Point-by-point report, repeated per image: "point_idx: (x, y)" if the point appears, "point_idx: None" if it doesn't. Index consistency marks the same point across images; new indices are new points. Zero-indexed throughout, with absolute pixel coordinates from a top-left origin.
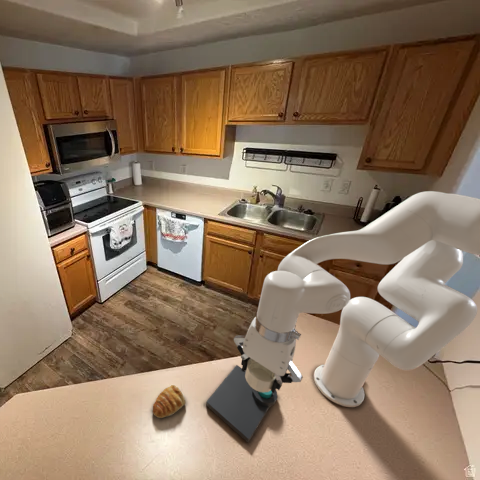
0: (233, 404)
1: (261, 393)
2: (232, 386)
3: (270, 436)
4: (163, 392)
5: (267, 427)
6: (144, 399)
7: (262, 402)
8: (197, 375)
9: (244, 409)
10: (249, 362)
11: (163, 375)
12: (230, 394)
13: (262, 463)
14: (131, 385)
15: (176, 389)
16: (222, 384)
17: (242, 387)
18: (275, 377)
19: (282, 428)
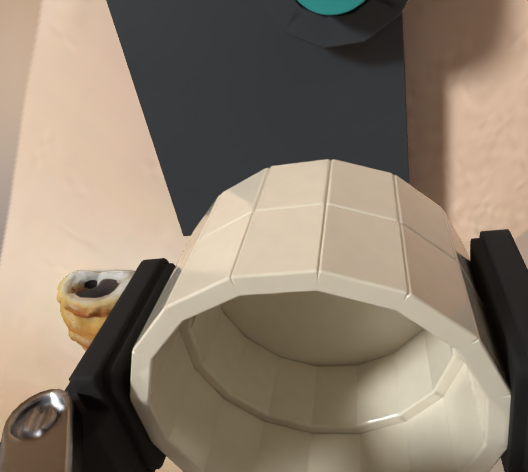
0: (263, 155)
1: (332, 12)
2: (188, 80)
3: (474, 100)
4: (73, 340)
5: (442, 75)
6: (69, 349)
7: (366, 39)
8: (53, 150)
9: (315, 131)
10: (171, 430)
11: (3, 258)
12: (216, 125)
13: (493, 215)
14: (6, 350)
15: (82, 313)
16: (152, 117)
17: (223, 36)
18: (501, 433)
19: (511, 9)
